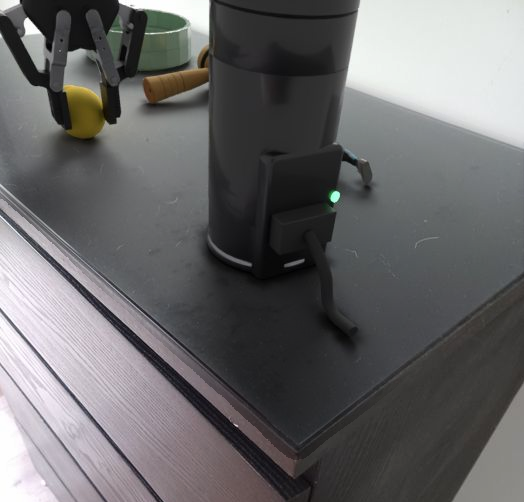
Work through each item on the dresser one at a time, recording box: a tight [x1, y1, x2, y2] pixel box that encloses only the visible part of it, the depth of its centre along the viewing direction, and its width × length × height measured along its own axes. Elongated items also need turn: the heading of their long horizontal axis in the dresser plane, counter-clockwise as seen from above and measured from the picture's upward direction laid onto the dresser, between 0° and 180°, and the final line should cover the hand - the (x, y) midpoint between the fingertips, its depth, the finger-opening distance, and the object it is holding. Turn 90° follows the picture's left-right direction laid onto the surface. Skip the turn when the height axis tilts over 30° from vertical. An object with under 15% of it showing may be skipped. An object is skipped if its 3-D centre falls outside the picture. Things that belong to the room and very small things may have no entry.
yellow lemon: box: [61, 84, 106, 139], centre depth 57 cm, size 7×5×7 cm
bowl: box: [85, 7, 192, 72], centre depth 78 cm, size 15×15×5 cm
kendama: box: [142, 43, 209, 105], centre depth 68 cm, size 8×6×18 cm
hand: (88, 123), depth 54 cm, fingers closed on yellow lemon, 4 cm apart
